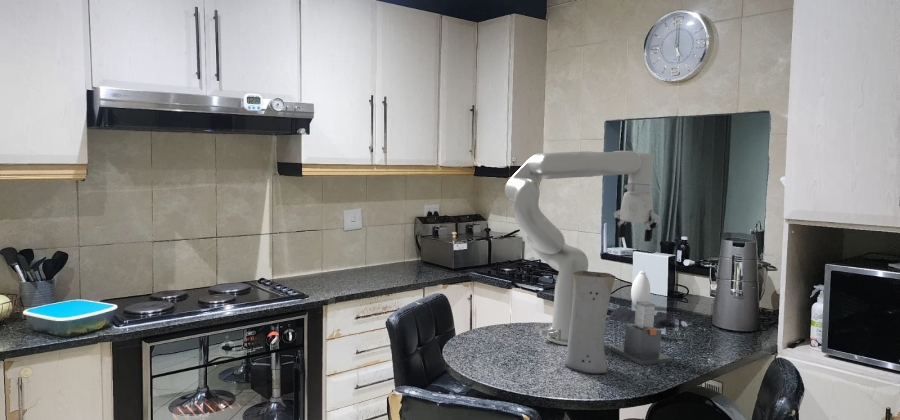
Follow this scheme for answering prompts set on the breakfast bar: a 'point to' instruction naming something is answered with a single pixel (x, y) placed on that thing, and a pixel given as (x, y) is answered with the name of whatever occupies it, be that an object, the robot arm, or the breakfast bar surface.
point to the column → (644, 315)
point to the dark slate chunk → (629, 317)
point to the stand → (642, 346)
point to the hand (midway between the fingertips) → (634, 239)
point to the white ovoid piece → (640, 288)
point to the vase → (589, 322)
